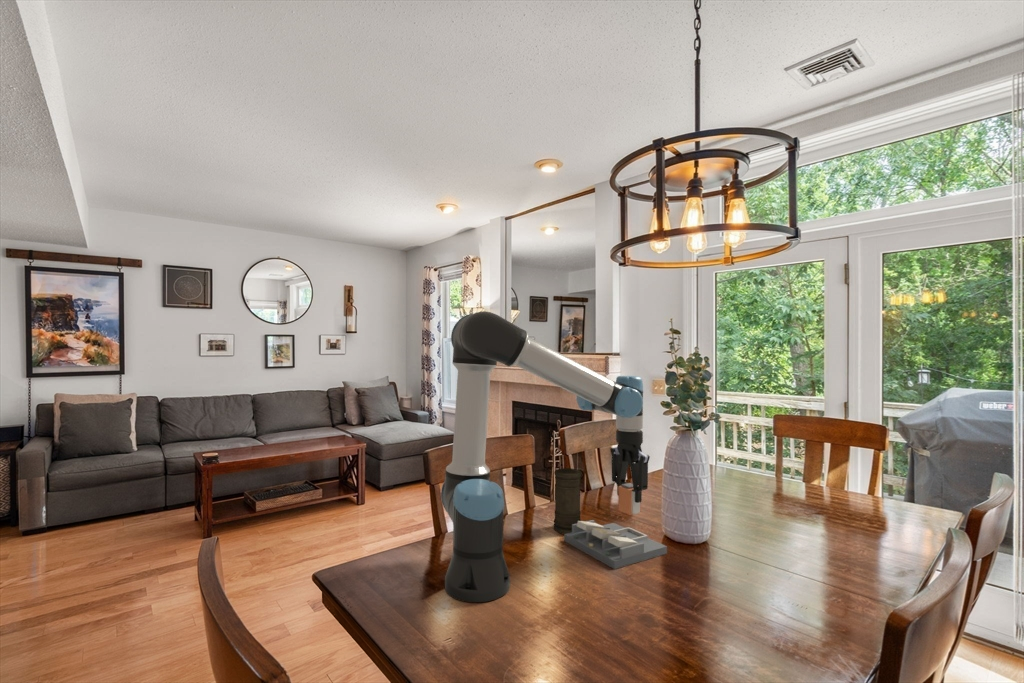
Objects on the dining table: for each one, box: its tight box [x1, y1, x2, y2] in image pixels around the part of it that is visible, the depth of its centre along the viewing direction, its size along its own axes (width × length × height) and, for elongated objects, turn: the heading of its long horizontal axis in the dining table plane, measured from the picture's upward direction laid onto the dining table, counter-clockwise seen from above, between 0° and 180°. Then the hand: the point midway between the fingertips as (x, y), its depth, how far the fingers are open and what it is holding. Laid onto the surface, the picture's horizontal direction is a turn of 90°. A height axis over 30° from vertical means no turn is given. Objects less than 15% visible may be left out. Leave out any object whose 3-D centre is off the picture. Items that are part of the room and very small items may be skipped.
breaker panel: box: [563, 519, 668, 570], centre depth 138 cm, size 19×21×4 cm
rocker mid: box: [592, 528, 621, 539], centre depth 137 cm, size 7×4×2 cm, turn 121°
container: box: [552, 467, 583, 535], centre depth 152 cm, size 9×9×18 cm
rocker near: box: [608, 536, 638, 547], centre depth 131 cm, size 7×4×2 cm, turn 121°
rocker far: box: [577, 520, 605, 531], centre depth 143 cm, size 7×4×2 cm, turn 121°
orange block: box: [617, 482, 642, 516], centre depth 142 cm, size 4×4×8 cm
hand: (629, 510), depth 141 cm, fingers closed on orange block, 4 cm apart
